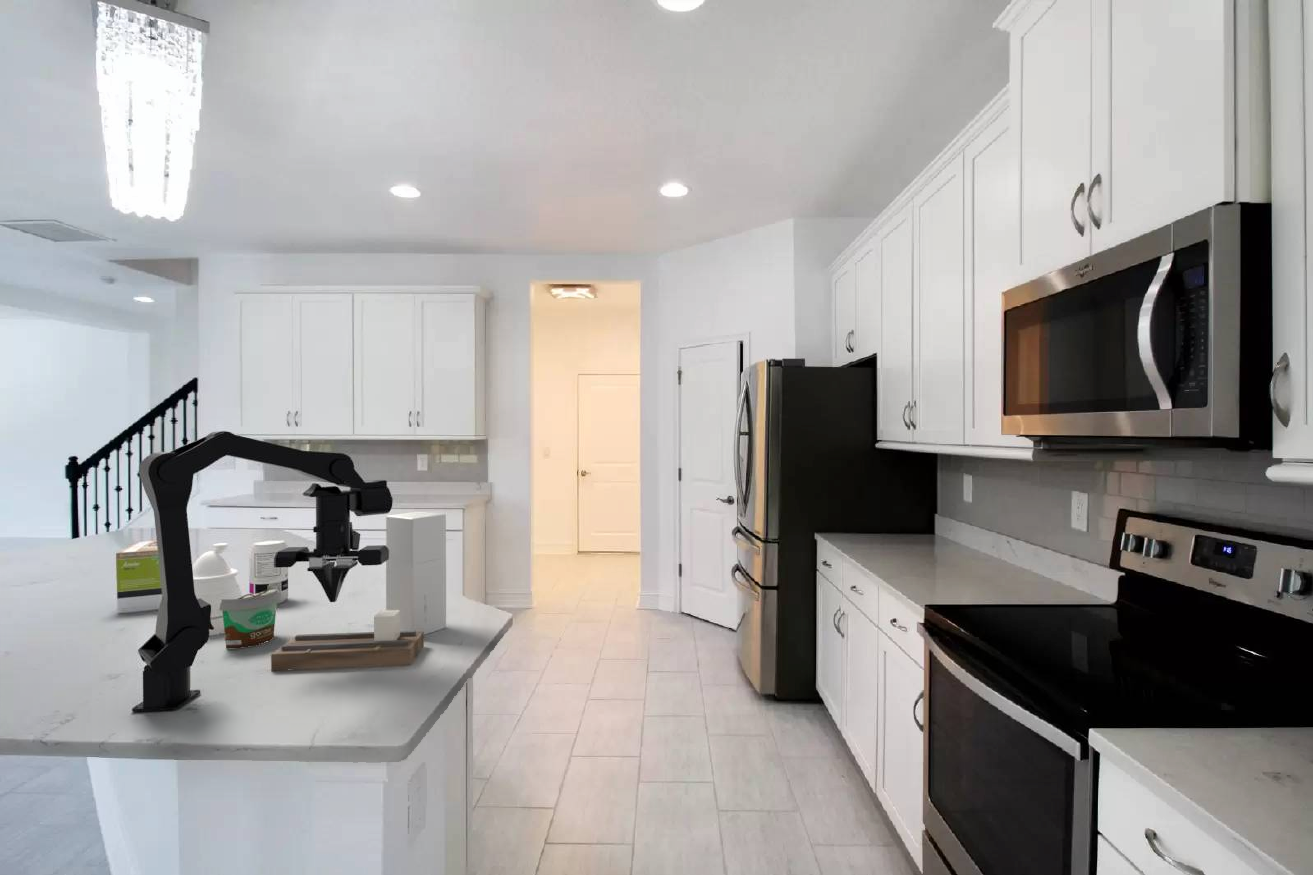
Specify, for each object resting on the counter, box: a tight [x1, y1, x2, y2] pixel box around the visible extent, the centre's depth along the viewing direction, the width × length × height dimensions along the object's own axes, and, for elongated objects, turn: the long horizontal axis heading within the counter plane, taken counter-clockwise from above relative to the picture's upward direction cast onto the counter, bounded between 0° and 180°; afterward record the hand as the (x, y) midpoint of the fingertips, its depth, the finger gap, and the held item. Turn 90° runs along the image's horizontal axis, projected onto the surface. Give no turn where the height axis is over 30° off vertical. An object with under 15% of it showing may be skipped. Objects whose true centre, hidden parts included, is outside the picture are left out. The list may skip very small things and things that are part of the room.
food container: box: [219, 586, 281, 649], centre depth 128 cm, size 12×6×10 cm, turn 168°
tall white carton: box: [385, 511, 447, 636], centre depth 136 cm, size 9×9×25 cm
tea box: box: [115, 540, 162, 614], centre depth 156 cm, size 15×10×15 cm
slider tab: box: [373, 610, 400, 641], centre depth 120 cm, size 4×4×5 cm
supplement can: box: [248, 539, 289, 605], centre depth 157 cm, size 8×8×15 cm
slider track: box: [270, 630, 425, 672], centre depth 119 cm, size 10×24×4 cm, turn 97°
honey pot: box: [192, 542, 243, 637], centre depth 137 cm, size 13×13×18 cm
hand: (333, 601), depth 119 cm, fingers closed
